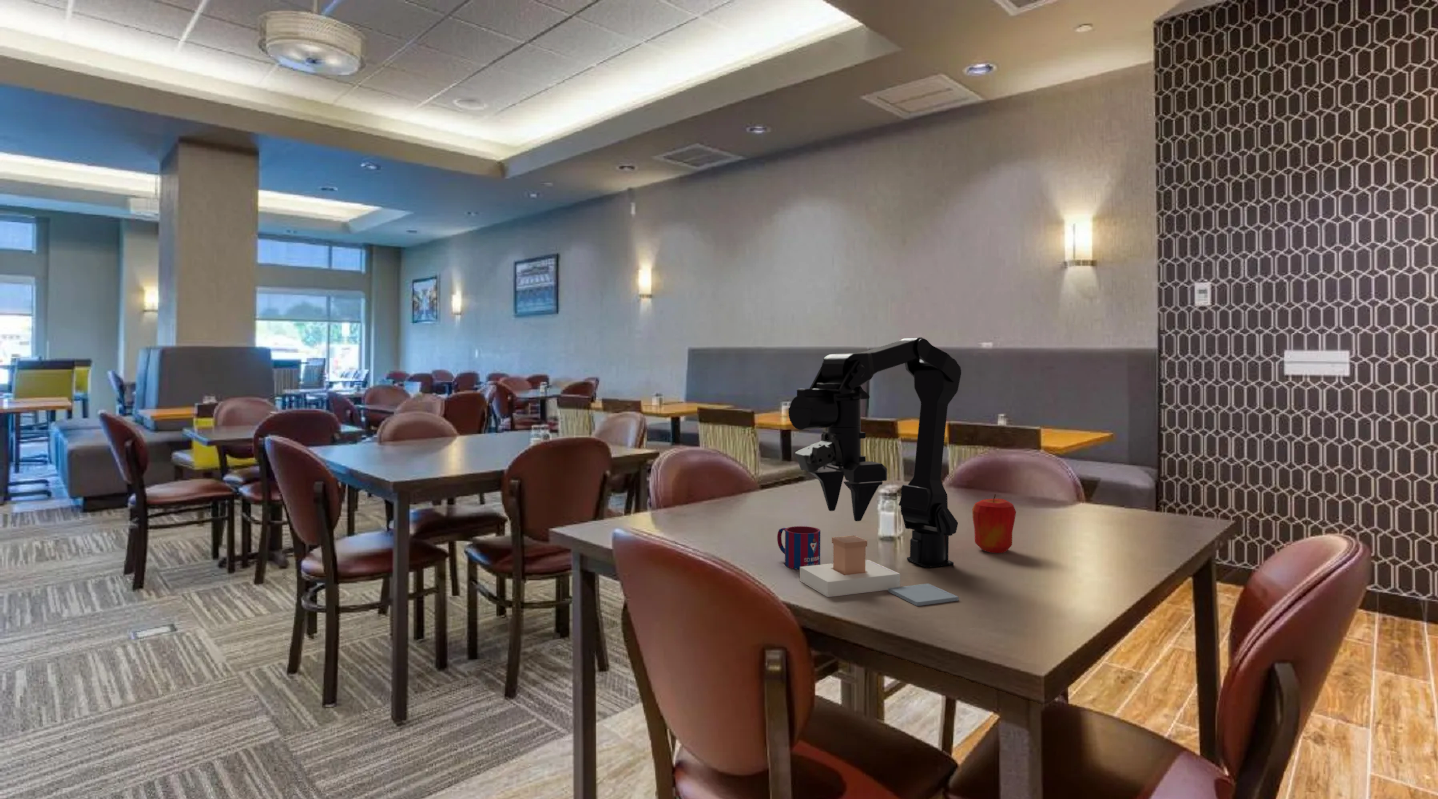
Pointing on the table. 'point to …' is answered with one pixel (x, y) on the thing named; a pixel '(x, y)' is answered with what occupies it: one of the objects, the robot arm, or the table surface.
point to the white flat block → (849, 579)
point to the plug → (849, 554)
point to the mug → (800, 546)
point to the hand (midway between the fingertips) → (844, 515)
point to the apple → (993, 524)
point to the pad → (923, 594)
